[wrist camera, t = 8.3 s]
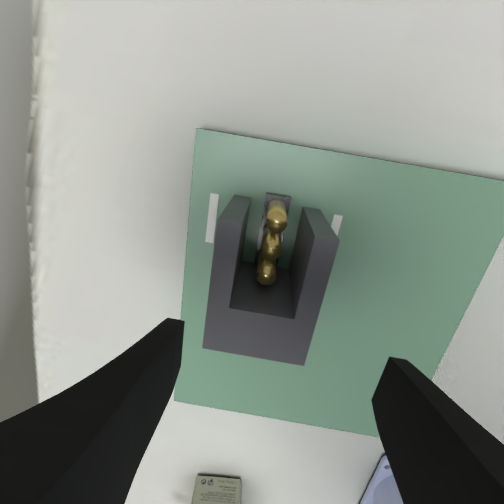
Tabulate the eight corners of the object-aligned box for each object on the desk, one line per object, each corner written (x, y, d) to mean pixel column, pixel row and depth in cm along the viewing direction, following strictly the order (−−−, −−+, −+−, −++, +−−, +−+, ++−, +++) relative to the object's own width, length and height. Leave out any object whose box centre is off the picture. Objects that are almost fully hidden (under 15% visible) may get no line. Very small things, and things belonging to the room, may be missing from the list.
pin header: (276, 262, 18) (277, 291, 15) (254, 258, 18) (250, 286, 15) (290, 196, 17) (294, 210, 14) (266, 192, 17) (264, 205, 14)
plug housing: (295, 305, 19) (304, 366, 14) (221, 292, 19) (202, 348, 14) (319, 209, 17) (339, 240, 12) (234, 194, 17) (217, 219, 12)
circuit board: (394, 426, 24) (400, 442, 23) (178, 388, 24) (173, 402, 23) (511, 182, 17) (530, 185, 16) (201, 128, 17) (195, 128, 16)
